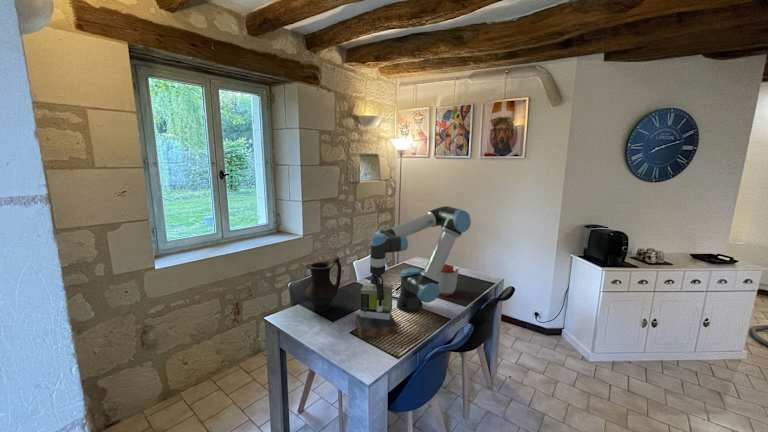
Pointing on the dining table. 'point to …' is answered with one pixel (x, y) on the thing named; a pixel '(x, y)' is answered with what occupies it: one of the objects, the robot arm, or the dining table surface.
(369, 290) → the tea box
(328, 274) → the jug
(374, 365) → the dining table surface
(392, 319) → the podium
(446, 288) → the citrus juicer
